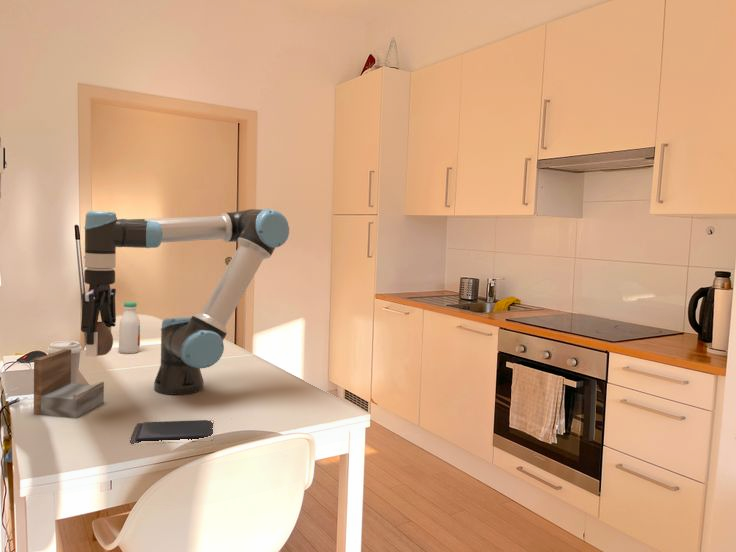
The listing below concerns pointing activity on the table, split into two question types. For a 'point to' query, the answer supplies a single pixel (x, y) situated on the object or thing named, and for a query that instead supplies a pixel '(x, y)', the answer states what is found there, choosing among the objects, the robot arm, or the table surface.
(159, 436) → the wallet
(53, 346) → the coffee cup
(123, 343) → the milk bottle
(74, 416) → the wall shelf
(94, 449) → the table surface
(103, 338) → the vase
